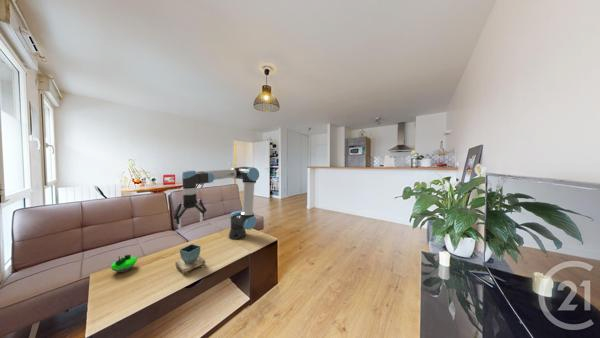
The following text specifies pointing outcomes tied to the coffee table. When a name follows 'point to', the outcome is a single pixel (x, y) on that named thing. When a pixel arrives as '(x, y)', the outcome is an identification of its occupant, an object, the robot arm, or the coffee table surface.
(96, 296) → the coffee table surface
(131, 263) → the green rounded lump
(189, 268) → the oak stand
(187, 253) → the flower pot
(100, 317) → the coffee table surface
